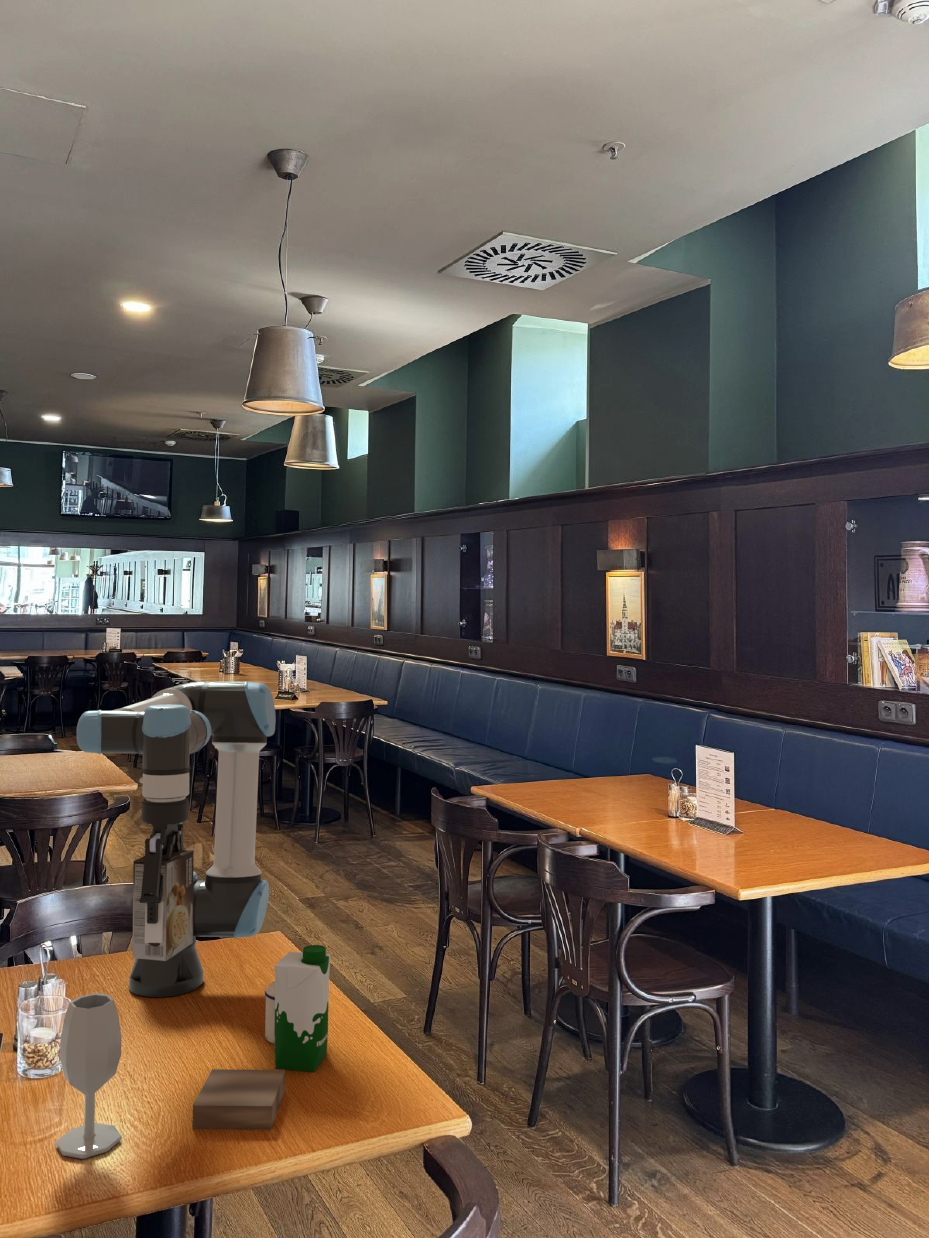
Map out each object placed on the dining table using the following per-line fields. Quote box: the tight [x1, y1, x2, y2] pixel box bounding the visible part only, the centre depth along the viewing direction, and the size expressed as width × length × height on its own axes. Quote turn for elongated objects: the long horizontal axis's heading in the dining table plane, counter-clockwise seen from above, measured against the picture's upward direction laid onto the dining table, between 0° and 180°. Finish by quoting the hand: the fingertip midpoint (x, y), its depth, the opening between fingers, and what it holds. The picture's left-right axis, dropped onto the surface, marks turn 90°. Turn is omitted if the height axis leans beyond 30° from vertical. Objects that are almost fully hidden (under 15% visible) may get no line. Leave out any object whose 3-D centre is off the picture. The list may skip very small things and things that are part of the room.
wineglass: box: [55, 992, 123, 1160], centre depth 141 cm, size 9×9×21 cm
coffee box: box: [131, 849, 195, 961], centre depth 160 cm, size 9×6×16 cm
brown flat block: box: [191, 1068, 286, 1131], centre depth 152 cm, size 12×12×4 cm
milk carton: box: [274, 944, 332, 1073], centre depth 169 cm, size 9×9×20 cm
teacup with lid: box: [264, 981, 275, 1045], centre depth 181 cm, size 12×9×12 cm
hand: (163, 931), depth 160 cm, fingers closed on coffee box, 10 cm apart
